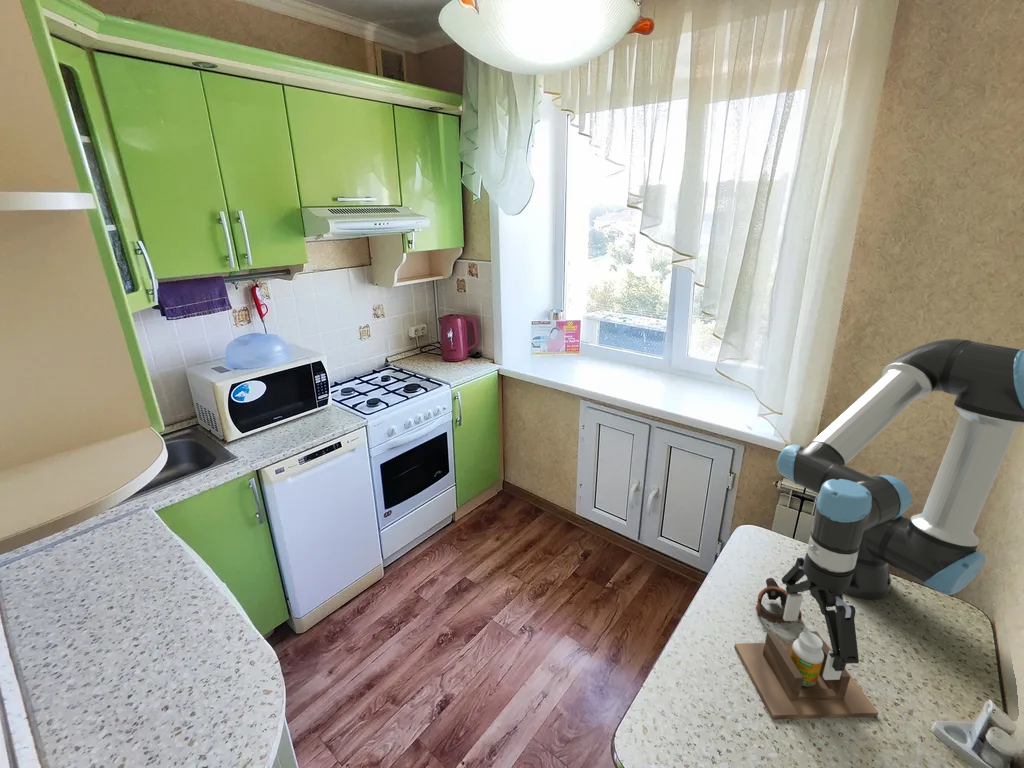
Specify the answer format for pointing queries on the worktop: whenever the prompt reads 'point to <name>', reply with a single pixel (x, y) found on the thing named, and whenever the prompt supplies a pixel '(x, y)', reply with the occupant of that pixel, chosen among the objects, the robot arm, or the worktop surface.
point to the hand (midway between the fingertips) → (809, 646)
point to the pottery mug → (773, 594)
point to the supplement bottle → (808, 657)
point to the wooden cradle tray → (800, 684)
